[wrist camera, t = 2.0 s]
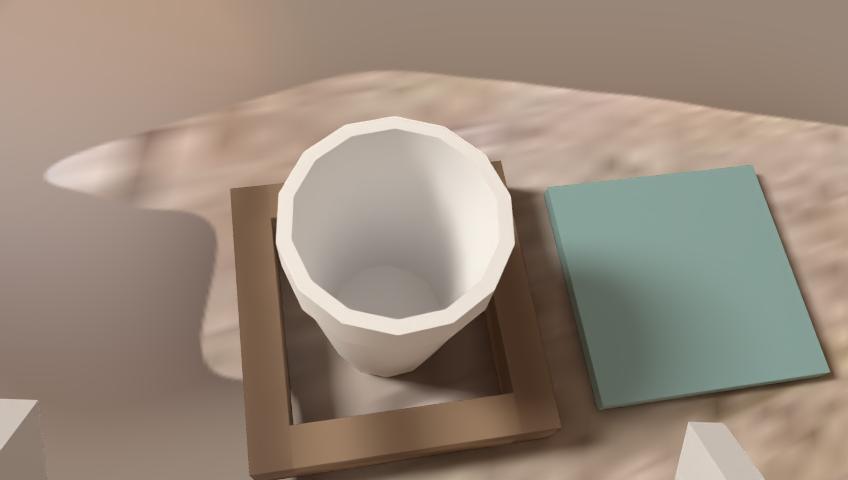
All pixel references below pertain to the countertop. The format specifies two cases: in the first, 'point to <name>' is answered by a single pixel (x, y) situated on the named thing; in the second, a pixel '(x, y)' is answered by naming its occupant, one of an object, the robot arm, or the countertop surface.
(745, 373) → the mat
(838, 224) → the countertop surface
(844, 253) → the countertop surface
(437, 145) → the foam cup
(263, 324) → the brown flat square frame
